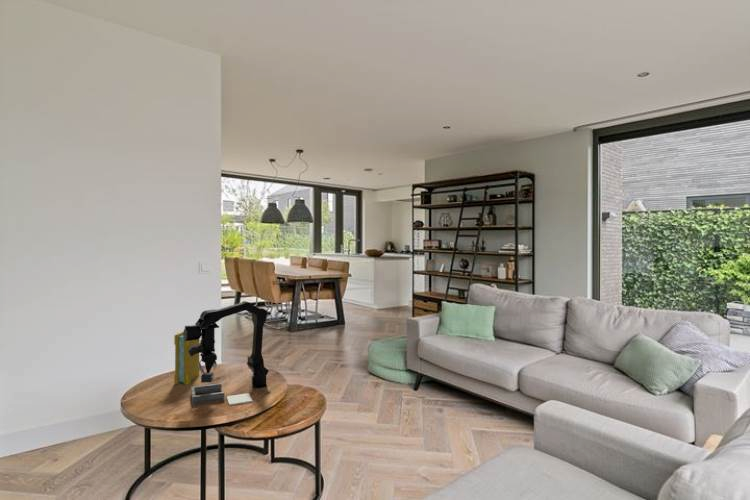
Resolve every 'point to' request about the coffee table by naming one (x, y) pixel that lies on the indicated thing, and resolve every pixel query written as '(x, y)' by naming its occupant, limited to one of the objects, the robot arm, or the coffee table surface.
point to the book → (185, 360)
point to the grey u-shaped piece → (206, 397)
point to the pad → (239, 399)
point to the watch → (207, 376)
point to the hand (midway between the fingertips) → (207, 371)
